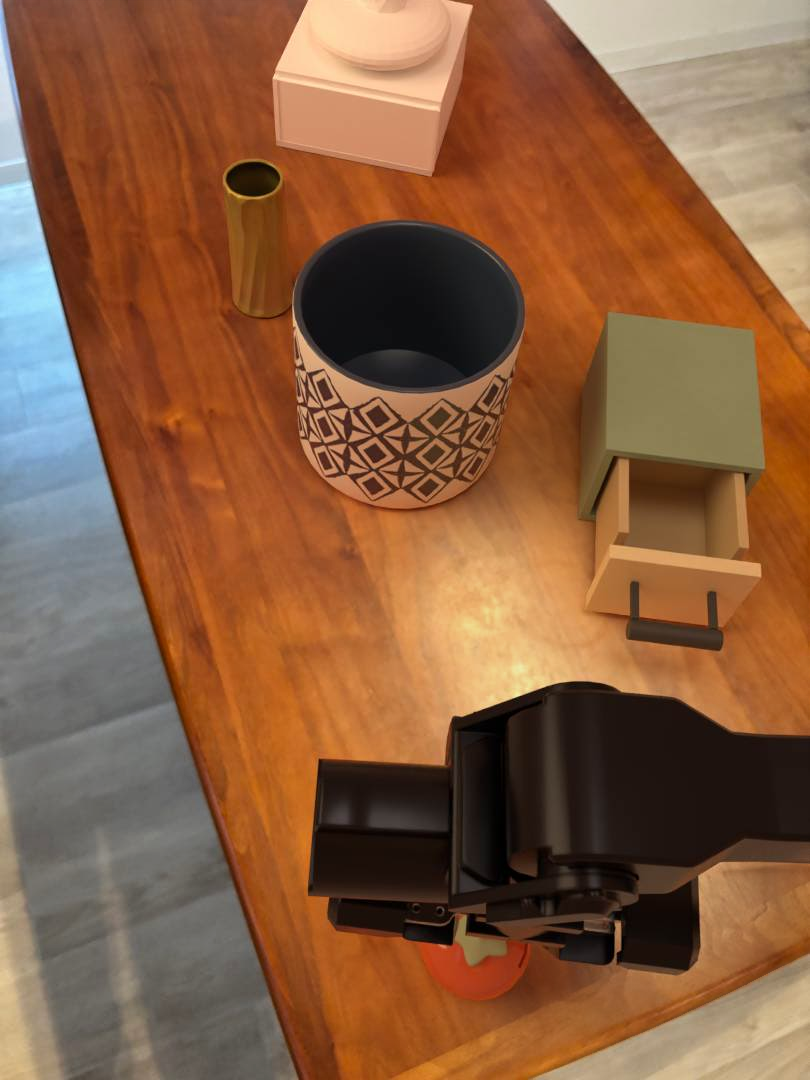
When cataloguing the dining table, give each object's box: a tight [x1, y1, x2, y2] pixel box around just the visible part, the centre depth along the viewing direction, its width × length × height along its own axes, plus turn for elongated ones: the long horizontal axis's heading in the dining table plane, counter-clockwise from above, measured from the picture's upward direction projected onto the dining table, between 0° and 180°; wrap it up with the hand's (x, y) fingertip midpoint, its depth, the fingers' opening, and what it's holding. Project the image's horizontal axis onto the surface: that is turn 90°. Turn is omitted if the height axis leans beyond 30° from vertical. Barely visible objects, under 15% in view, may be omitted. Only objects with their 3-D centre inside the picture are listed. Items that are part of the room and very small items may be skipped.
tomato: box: [419, 915, 532, 1002], centre depth 66 cm, size 7×7×8 cm
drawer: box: [584, 456, 763, 652], centre depth 81 cm, size 18×11×9 cm, turn 174°
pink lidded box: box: [271, 0, 474, 178], centre depth 107 cm, size 18×18×16 cm
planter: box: [291, 219, 527, 509], centre depth 85 cm, size 18×18×16 cm
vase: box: [222, 158, 295, 319], centre depth 93 cm, size 6×6×14 cm
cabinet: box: [577, 311, 766, 522], centre depth 87 cm, size 15×13×11 cm
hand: (491, 916), depth 59 cm, fingers open, 4 cm apart
